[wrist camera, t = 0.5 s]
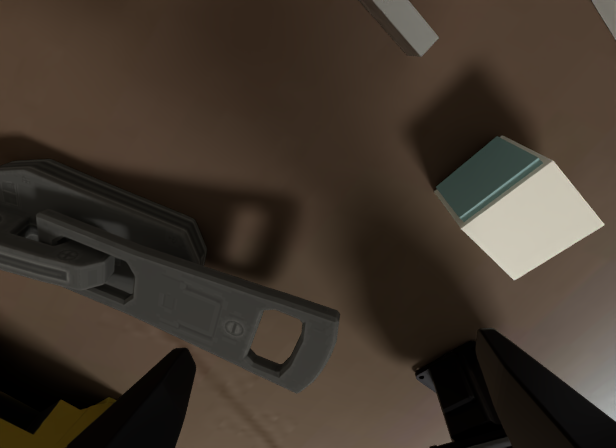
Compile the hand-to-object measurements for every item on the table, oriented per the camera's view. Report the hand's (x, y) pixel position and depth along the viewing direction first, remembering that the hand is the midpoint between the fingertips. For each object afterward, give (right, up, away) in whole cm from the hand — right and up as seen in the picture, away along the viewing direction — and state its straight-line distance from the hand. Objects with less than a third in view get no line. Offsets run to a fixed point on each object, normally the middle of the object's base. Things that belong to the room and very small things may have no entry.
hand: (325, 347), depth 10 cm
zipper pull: (-11, +2, +15) cm, 18 cm away
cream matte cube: (+11, +6, +11) cm, 17 cm away
